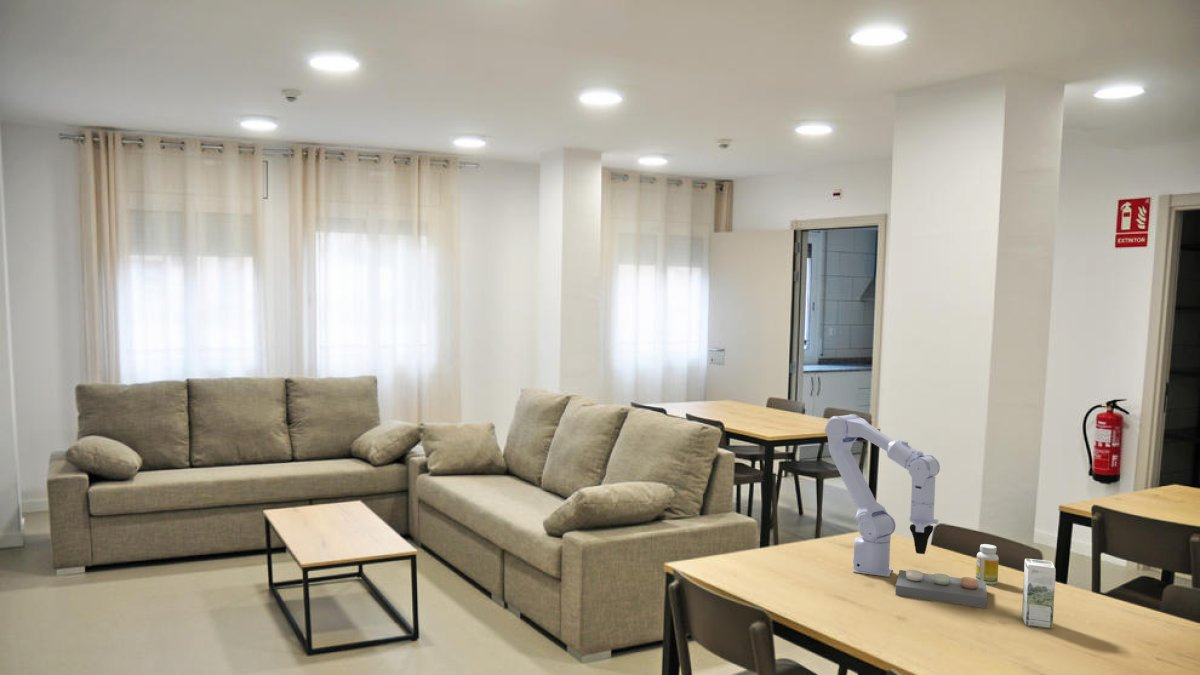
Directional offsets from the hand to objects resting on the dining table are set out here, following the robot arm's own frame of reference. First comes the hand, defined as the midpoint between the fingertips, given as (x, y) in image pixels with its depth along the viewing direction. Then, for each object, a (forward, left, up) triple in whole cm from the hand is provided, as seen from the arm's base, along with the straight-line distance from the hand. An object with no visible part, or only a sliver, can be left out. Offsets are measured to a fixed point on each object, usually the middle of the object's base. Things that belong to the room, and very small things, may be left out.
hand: (920, 553), depth 225 cm
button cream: (-1, -6, -7) cm, 9 cm away
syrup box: (+26, -19, -8) cm, 33 cm away
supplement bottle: (+16, +10, -8) cm, 21 cm away
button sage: (+5, -6, -7) cm, 11 cm away
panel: (+5, -6, -8) cm, 11 cm away
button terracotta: (+12, -6, -7) cm, 15 cm away
